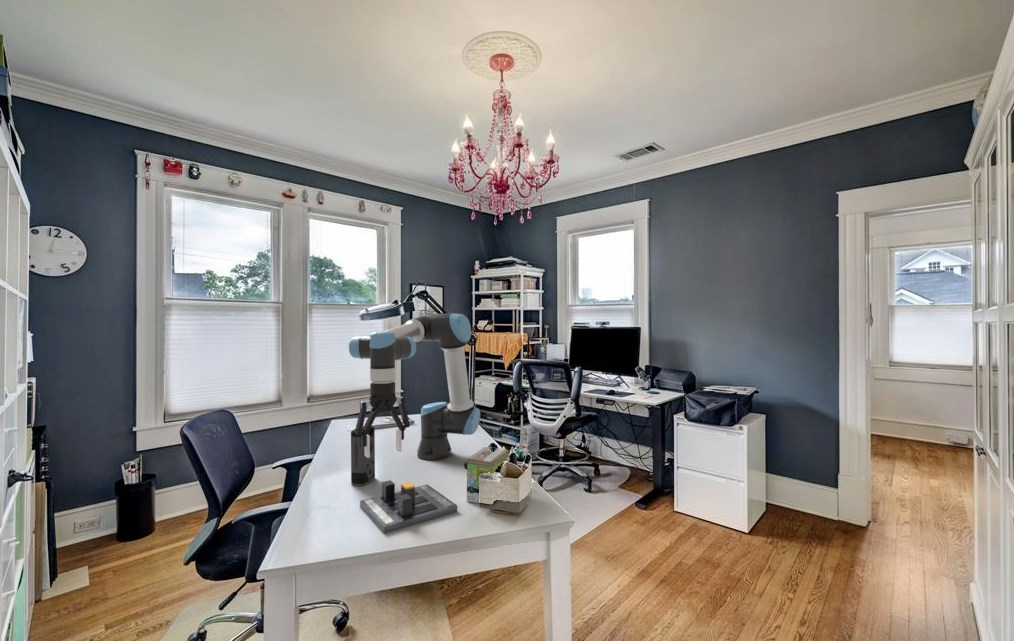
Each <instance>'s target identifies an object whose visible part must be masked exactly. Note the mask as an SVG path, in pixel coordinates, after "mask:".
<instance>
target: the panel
mask: <svg viewBox="0 0 1014 641" xmlns="http://www.w3.org/2000/svg"><path fill="white" fill-rule="evenodd" d="M395 485H396V484H395V483H394V482H393V481H392V480H391V479H390V480H385V481H381V495H378V496H373V497H371V498H366V499H363V500H359V508H361V510H362V511H363V512H364V513H365V515H367V516H368V518H369V519H371V521H372V522H373V523H374V524H375V525H376V527H377V528H379V530H380V531H381V532H382V533H383V535H384V534H388V533H391V532H395V531H398V530H401V529H404V528H408V527H411V526H414V525H415V526H416V525H419V524H422V523H425V522H427V521H431V520H434V519H435V520H436V519H437V518H441V517H442V518H443V517H445V516H449V515H452V514H455V513H458V504H456V503H455V502H453V501H452V500H450V499H449V498H448V497H446V496H444V495H443V494H441V492H439V491H437V490H436V489H435V488H434V487H432V486H430V485H429V484H424V485H419V486H415V503H414V504H412V498H411V497H410V496H409V495H408V494H404V495H401V490H399V491H396V490H395V489H396V488H395V487H396V486H395Z"/></svg>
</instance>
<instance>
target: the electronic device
mask: <svg viewBox="0 0 1014 641" xmlns="http://www.w3.org/2000/svg"><path fill="white" fill-rule="evenodd" d="M363 427H364V425H363ZM355 429H356V428H354V429H352V430H351V431H350V474H351V475H350V481H351V482H350V483H351V485H353V486H357V487H358V486H360V487H361V486H362V487H363V486H366V485H368V484H369V483H370V482H372V481H373V480H374V479H375V477H376V464H375V463H376V454H375V453H376V450H375V449H376V445H375V444H376V443H375V441H376V440H375V426H373V425H372V426H371V428H370V430H369V432H368V435H369V436H370V457H369V458H367V457H366V456H365V447H363V446H362V444H361V435H357V434H356V433H355ZM362 429H363V428H362Z"/></svg>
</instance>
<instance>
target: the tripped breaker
mask: <svg viewBox="0 0 1014 641" xmlns="http://www.w3.org/2000/svg"><path fill="white" fill-rule="evenodd" d="M415 487H416V486H415V485H414V484H413V483H412V482H411V481H408V482H405V483H401V484H400V491H401V495H404V494H408V495H409V496H410V497H411V498H412V504H414V503H415Z"/></svg>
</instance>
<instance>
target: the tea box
mask: <svg viewBox="0 0 1014 641" xmlns="http://www.w3.org/2000/svg"><path fill="white" fill-rule="evenodd" d="M490 448H491V447H489V446H488V447H487V446H484V447H482V448H481V449H480V450H478V451H476V452H475V453H474V454H472V455H470V456H469V457H467V458H466V459H467V460H466V461H467V463H466V464H467V465H466V467H467V468H466V502H469V503H474V504H479V476H480V474H483V473H488V472H490V473H494V472H495V470H496V469H497V467H498V466H500V465H501V464H502V463H503V461H505V460H506V458H507V456H508V455H509V456H510V454H509V452H510V451H509V449H504V448H496V450H495V451H494V452H491V449H490Z"/></svg>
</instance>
